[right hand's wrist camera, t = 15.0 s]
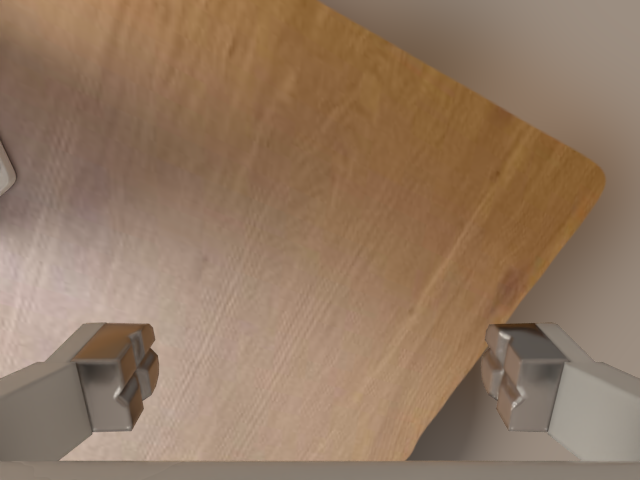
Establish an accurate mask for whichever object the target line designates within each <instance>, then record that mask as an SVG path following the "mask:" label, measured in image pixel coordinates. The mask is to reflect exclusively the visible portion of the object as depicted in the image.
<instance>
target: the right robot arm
mask: <svg viewBox="0 0 640 480" xmlns="http://www.w3.org/2000/svg"><path fill="white" fill-rule="evenodd" d="M15 181H16V174H15V171H14V169H13V167H12V164H11V162H10V160H9V158H8V156H7V154H6V152H5V150H4V147H3V145H2V143H1V141H0V196H1V195H2V194H3V193H5V192H6V191H7V190H8V189H9V188H10V187H12V185H13V184H14V183H15ZM154 341H155V336H154V331H153V327H152V326H151V325H150V324H138V323H86V324H83V325H82V326H81V327H80V328H79V329H78V330H77V331H76V332H74V333H73V334H72V335H71V336H70V337H69V338H68V339H67V340H66V341H65V342H64V343H63V344H62V345H61V346H60V347H59V348H58V349H57V350H56V351H55V352H54V353H53V354H52V355H51V356H50V357H49V358H48V359H47V360H46V361H45V362H37V363H34V364H32V365H30V366H28V367H25V368H23V369H21V370H19V371H16V372H14V373H12V374H10V375H7V376H5V377H3V378H0V480H640V379H639V378H637V377H635V376H633V375H630V374H628V373H626V372H624V371H621V370H619V369H617V368H615V367H612V366H610V365H608V364H606V363H603V362H595V361H594V360H593V359H592V358H591V357H590V356H589V355H588V354H587V353H586V352H585V351H584V350H583V349H582V348H581V347H580V346H579V345H578V344H577V343H576V342H575V341H574V340H573V339H572V338H571V337H570V336H569V335H568V334H567V333H566V332H565V331H564V330H563V329H562V328H561V327H560V326H559V325H557V324H555V323H522V324H490V325H489V326H488V328H487V330H486V336H485V341H486V342H487V344H488V345H489V347H490V348H489V349H488V350H487V351H486V352H485V353H484V354H483V355H482V362H481V374H482V380H483V384H484V387H485V389H486V391H487V393H488V395H489V396H491V397H492V398H494V399H495V400H497V401H498V402H497V408H496V409H497V411H498V413H499V415H500V416H501V418H502V420H503V422H504V424H505V425H506V427H507V429H508V431H525V432H548V435H550V436H551V437H552V438H553V439H555V440H556V441H557V442H559V443H560V444H561V445H562V446H564V447H565V448H566V449H567V450H569V451H570V452H571V453H573V454H574V455H575V456H576V457H578V458H579V459H580V460H581V461H59V460H60V459H61V458H63V457H64V456H65V455H66V454H68V453H69V452H70V451H71V450H73V449H74V448H75V447H77V446H78V445H79V444H80V443H82V442H83V441H84V440H85V439H87V438H88V437H89V436H91V435H92V432H114V431H132V429H133V427H134V425H135V424H136V422H137V420H138V418H139V416H140V415H141V413H142V411H143V409H144V408H143V402H142V401H143V400H145V399H146V398H148V397H149V396H151V395H152V393H153V391H154V389H155V387H156V384H157V380H158V375H159V361H158V355H157V354H156V353H155V352H154V351H153V350H152V349H151V348H150V347H151V345H152V344H153V342H154Z"/></svg>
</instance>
